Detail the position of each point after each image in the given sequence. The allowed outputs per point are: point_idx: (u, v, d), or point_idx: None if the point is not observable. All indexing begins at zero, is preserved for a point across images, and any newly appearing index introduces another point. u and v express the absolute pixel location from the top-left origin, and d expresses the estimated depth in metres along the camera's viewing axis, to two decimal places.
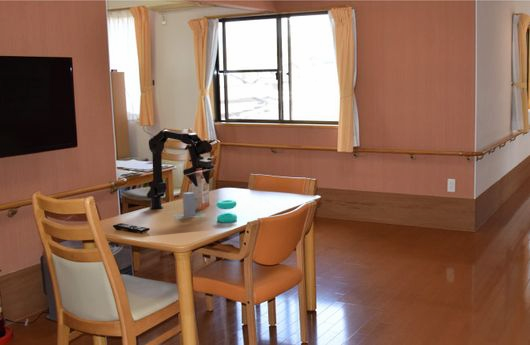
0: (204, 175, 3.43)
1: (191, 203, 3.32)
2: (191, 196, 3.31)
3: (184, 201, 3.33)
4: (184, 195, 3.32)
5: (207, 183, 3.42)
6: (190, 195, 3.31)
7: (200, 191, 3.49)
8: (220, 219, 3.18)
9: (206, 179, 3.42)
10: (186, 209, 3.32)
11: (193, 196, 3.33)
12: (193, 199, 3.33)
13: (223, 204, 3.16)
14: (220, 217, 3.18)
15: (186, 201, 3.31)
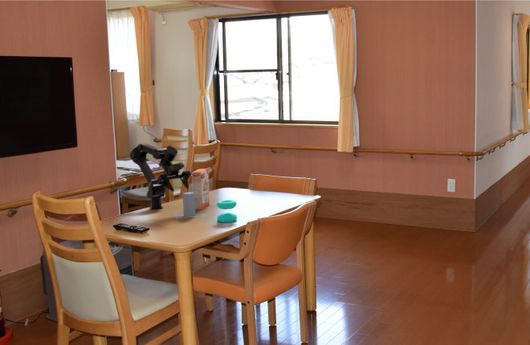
0: (183, 183, 3.45)
1: (191, 203, 3.32)
2: (191, 196, 3.31)
3: (184, 201, 3.33)
4: (184, 195, 3.32)
5: (187, 188, 3.41)
6: (190, 195, 3.31)
7: (200, 191, 3.49)
8: (220, 219, 3.18)
9: (185, 185, 3.42)
10: (186, 209, 3.32)
11: (193, 196, 3.33)
12: (193, 199, 3.33)
13: (223, 204, 3.16)
14: (220, 217, 3.18)
15: (186, 201, 3.31)
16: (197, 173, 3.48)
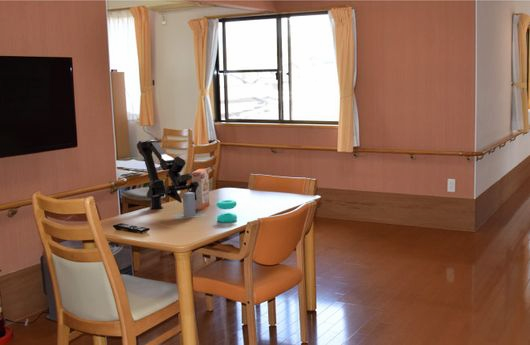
0: None
1: (191, 203, 3.32)
2: (191, 196, 3.31)
3: (184, 201, 3.33)
4: (184, 195, 3.32)
5: (195, 199, 3.37)
6: (190, 195, 3.31)
7: (200, 191, 3.49)
8: (220, 219, 3.18)
9: None
10: (186, 209, 3.32)
11: (193, 196, 3.33)
12: (193, 199, 3.33)
13: (223, 204, 3.16)
14: (220, 217, 3.18)
15: (186, 201, 3.31)
16: (197, 173, 3.48)
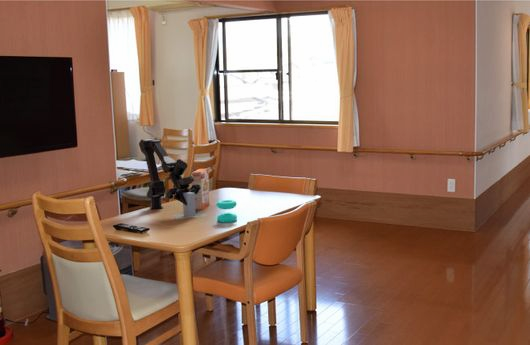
0: None
1: (191, 203, 3.32)
2: (191, 196, 3.31)
3: None
4: (184, 195, 3.32)
5: None
6: (190, 195, 3.31)
7: (200, 191, 3.49)
8: (220, 219, 3.18)
9: None
10: (186, 209, 3.32)
11: (193, 196, 3.33)
12: (193, 199, 3.33)
13: (223, 204, 3.16)
14: (220, 217, 3.18)
15: (186, 201, 3.31)
16: (197, 173, 3.48)
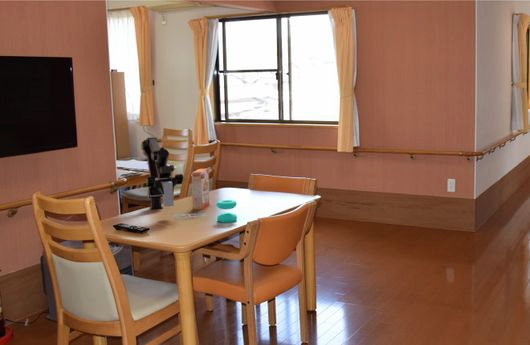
0: None
1: (167, 193, 3.27)
2: (167, 186, 3.26)
3: None
4: (162, 184, 3.28)
5: None
6: (167, 184, 3.26)
7: (200, 191, 3.49)
8: (220, 219, 3.18)
9: None
10: (163, 198, 3.28)
11: (171, 185, 3.27)
12: (170, 189, 3.27)
13: (223, 204, 3.16)
14: (220, 217, 3.18)
15: (163, 190, 3.27)
16: (197, 173, 3.48)
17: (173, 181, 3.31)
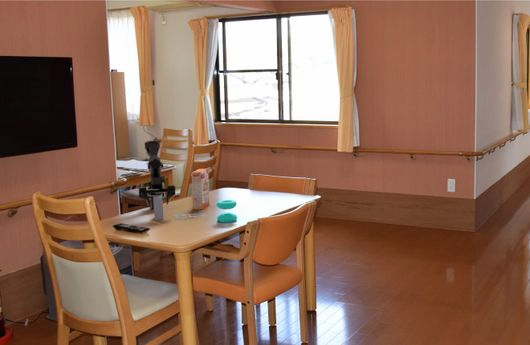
0: None
1: (157, 207, 3.27)
2: (157, 200, 3.27)
3: None
4: None
5: None
6: (157, 199, 3.27)
7: (200, 191, 3.49)
8: (220, 219, 3.18)
9: None
10: (154, 212, 3.29)
11: (161, 200, 3.27)
12: (160, 203, 3.27)
13: (223, 204, 3.16)
14: (220, 217, 3.18)
15: None
16: (197, 173, 3.48)
17: (168, 192, 3.31)
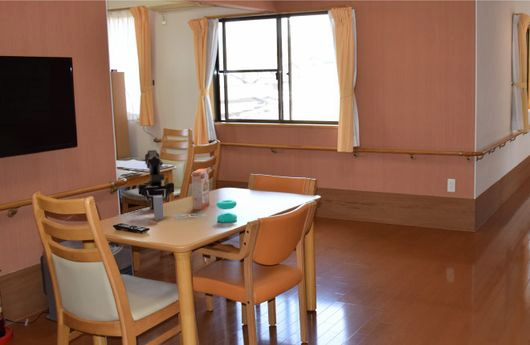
0: None
1: (157, 207, 3.27)
2: (157, 200, 3.27)
3: None
4: (153, 198, 3.29)
5: None
6: (157, 199, 3.27)
7: (200, 191, 3.49)
8: (220, 219, 3.18)
9: None
10: (154, 212, 3.29)
11: (161, 200, 3.27)
12: (160, 203, 3.27)
13: (223, 204, 3.16)
14: (220, 217, 3.18)
15: None
16: (197, 173, 3.48)
17: (167, 189, 3.40)
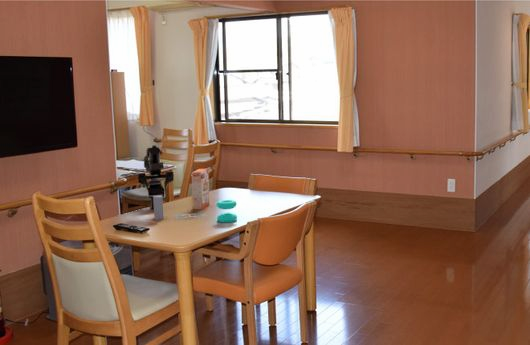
0: None
1: (157, 207, 3.27)
2: (157, 200, 3.27)
3: None
4: (153, 198, 3.29)
5: (165, 189, 3.40)
6: (157, 199, 3.27)
7: (200, 191, 3.49)
8: (220, 219, 3.18)
9: (165, 185, 3.41)
10: (154, 212, 3.29)
11: (161, 200, 3.27)
12: (160, 203, 3.27)
13: (223, 204, 3.16)
14: (220, 217, 3.18)
15: None
16: (197, 173, 3.48)
17: (167, 178, 3.42)
